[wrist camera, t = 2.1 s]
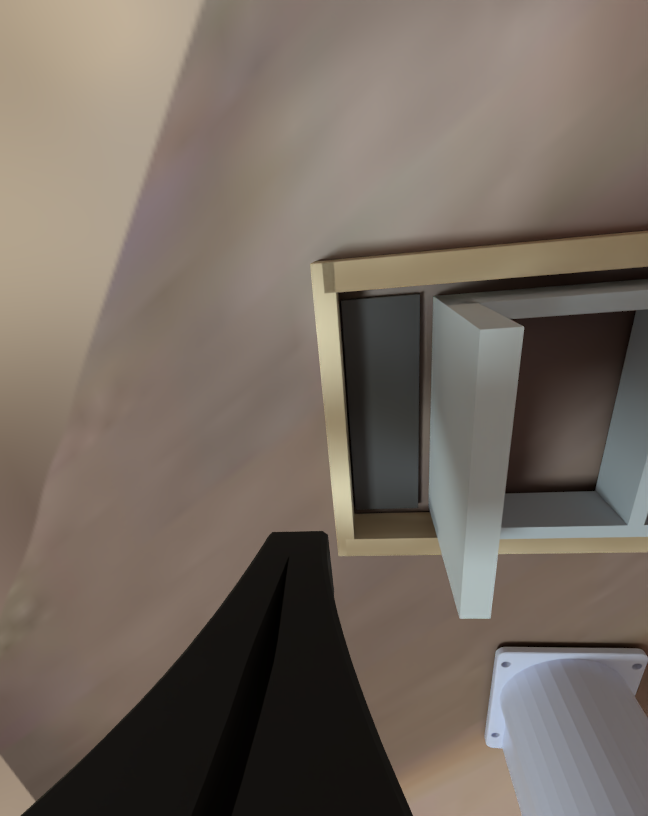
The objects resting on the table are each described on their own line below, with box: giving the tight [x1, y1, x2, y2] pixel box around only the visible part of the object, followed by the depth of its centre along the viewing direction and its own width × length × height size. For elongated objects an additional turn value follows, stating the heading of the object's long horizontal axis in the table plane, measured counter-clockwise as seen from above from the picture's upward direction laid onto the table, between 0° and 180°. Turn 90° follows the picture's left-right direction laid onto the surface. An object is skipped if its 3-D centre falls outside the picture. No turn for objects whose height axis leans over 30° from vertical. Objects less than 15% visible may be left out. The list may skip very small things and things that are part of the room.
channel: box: [310, 231, 648, 556], centre depth 15 cm, size 13×24×3 cm, turn 95°
